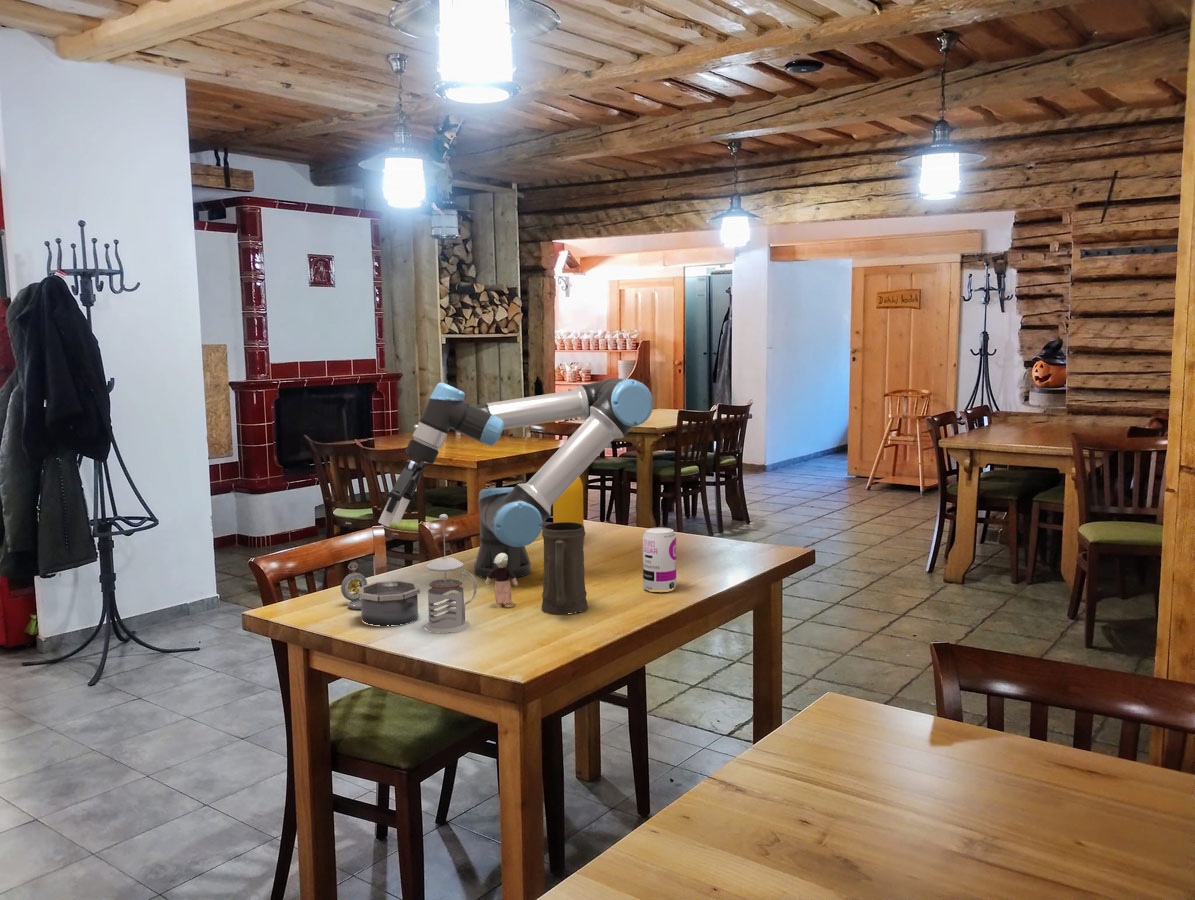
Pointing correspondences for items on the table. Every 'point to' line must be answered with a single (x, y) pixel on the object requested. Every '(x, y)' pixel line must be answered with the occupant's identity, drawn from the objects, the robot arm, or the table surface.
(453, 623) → the french press
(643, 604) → the table surface
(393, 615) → the grey octagonal rimmed bowl
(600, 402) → the robot arm
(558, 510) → the beer bottle
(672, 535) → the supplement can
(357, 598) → the pocket watch
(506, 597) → the grandmother figurine
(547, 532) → the beer stein
